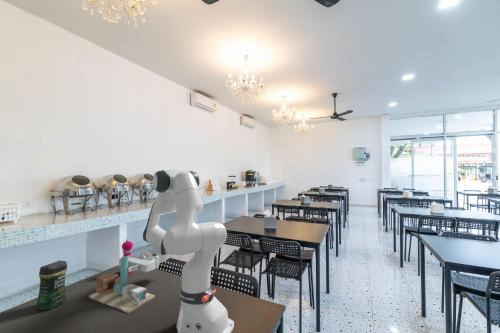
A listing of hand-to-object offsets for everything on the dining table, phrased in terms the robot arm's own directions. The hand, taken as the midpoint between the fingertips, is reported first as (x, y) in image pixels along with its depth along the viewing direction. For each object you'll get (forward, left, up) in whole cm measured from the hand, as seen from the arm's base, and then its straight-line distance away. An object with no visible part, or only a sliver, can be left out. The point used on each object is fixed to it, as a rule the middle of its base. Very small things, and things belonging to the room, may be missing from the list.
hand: (122, 268), depth 109 cm
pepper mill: (+25, -21, -14) cm, 36 cm away
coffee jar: (+23, +17, -14) cm, 32 cm away
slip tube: (-3, -1, -11) cm, 12 cm away
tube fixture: (+1, -1, -14) cm, 14 cm away
